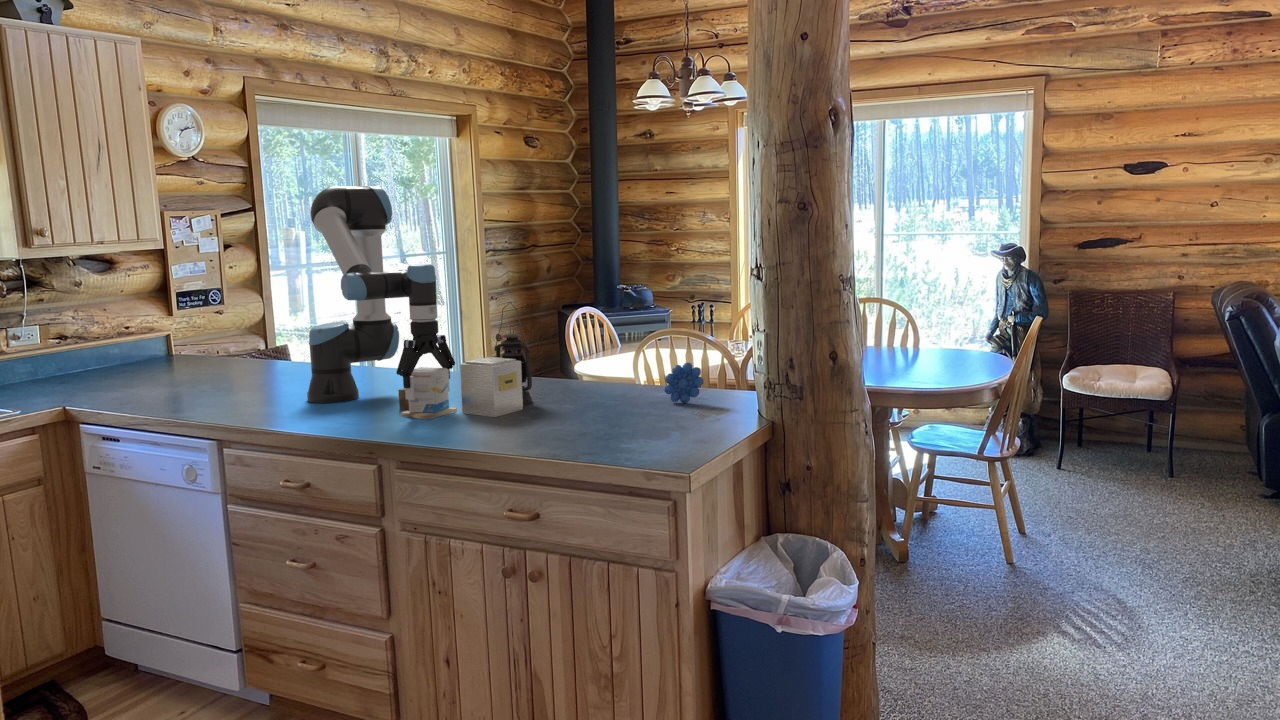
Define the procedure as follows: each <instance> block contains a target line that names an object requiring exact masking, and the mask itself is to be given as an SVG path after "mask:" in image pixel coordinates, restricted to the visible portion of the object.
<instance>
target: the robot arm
mask: <svg viewBox="0 0 1280 720" xmlns="http://www.w3.org/2000/svg"><path fill="white" fill-rule="evenodd" d="M392 207H393V206H392V203H391V199H390V197H389V195H388V194H387V192H386V191H385V190H384V188H383V187H380V186H374V185H373V186H372V185H361V186H360V185H356V186H355V185H352V186H351V185H349V186H345V185H344V186H343V185H341V186H339V185H334V186H328V187H326V188H325V189H323V190H321V191H320V192H319V193H318V194H317V195H316V196H315V198H314V199H313V200H312V203H311V207H310V218H311V219H310V220H311V222H312V224H313V226H314V228H315V229H316V231H317V232H318V233H320V234H321V235H322V236H323V239H324V240H325V242H326V244H327V246H328V247H329V250H330V252H331V253H332V255H333V258H334V260H335V261H336V264H337V266H338V267H339V269H340V272H341V273H342V276H341V279H340V289H341V294H342V296H343V298H344V299H346V300H347V301H356V309H357V310H356V311H357V313H356V314H355V316H354V317H353V318H352V324H351V325H350V324H349V323H348V321H343V320H342V321H333V322H327V323H326V322H325V323H322V324H319V325H316V326H313V327H312V328H311V329H310V330H309V332H308V333H309V335H308V336H309V337H308V339H309V340H308V345H309V352H310V353H309V355H310V356H309V357H310V368H311V369H310V370H311V376H310V377H311V378H310V381H309V385H308V391H307V393H306V394H307V396H306V399H307V401H308V402H309V403H312V404H313V403H315V404H333V403H342V402H348V401H353V400H355V399H356V400H357V399H358V398H359V397H360V395H359V393H360V392H359V389H358V387H357V384H356V381H355V379H354V377H353V373H352V367H351V366H352V364H355V363H365V362H372V361H373V362H375V361H378V362H380V361H382V360H388V359H389V360H390V359H391V358H393V357H394V356H395V355H396V353H397V352H398V348H399V345H400V344H399V343H400V331H399V327H398V324H397V323H395V322H393V321H392V316H391V315H389V313H387V311H386V309H387V307H386V299H397V298H398V299H399V298H408V304H409V319H410V320H411V321H410V324H409V325H410V334H411V336H412V339H404V341H403V350H402V352H401V356H400V359H399V361H398V366H397V369H396V375H398V376H400V377H402V380H403V381H402V383H403V384H402V385H403V388H405V395H406V399H407V400H415V396H414V378H413V376H411V374H412V372H413V370H414V369H416V366H417V364H418V363H419V360H420V358H421V357H422V356H423V355H427V354H431V355H432V356H433V357H434V359H435V360H436V361H437V363H438V364H439V365H440V368H447V378H448V393H450V392H451V391H450V380H451V371H450V370H452V369H453V367H454V366H456V365H455V364H456V361H455V359H454V356H453V355H452V352H451V350H450V348H449V345H448V342H447V338H446V335H445V334H438V333H439V321H438V320H436V319H438V317H439V316H438V301H437V299H438V298H437V275H436V270H435V266H434V264H431V263H430V264H428V263H427V264H426V263H424V264H423V263H422V264H421V263H420V264H419V263H418V264H417V263H416V264H409V265H407V268H406V269H399V270H394V271H389V270H388V271H384V260H383V259H384V258H383V257H384V256H383V246H382V245H383V242H382V235H383V234H384V233H385V232H386V230H387V227H386V226H387V225H389V224H390V223H391V221H392V217H393V209H392Z"/></svg>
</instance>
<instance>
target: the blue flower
mask: <svg viewBox="0 0 1280 720" xmlns="http://www.w3.org/2000/svg"><path fill="white" fill-rule="evenodd" d="M671 369H672V371H671V373H668V374H667V375H666V376H665V380H664V381H665V383H666V385H665V387H664V393H665V394H666V395H670V397H669V398H670V401H672V402H673V403H677V402H678V401H680V402H681V403H682V404H687V403H689V402H690V400H691V398H697V397H698V396H699V395H700V389H699V388H701V387H703V385H704V378H703V377H702V376H700V375H701V373H702V369H701V368H700V367H697V366H696V367H693V364H692V363H691V362H685V363H684V364H683V365H682V366H681V365H679V364H676V365H674V366H673V367H672V368H671Z"/></svg>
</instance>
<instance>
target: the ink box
mask: <svg viewBox="0 0 1280 720" xmlns="http://www.w3.org/2000/svg"><path fill="white" fill-rule="evenodd" d="M411 376H413V378H414V396H415V400H409V412H414V413H438V412H440V411H442V410H445V409H447V408H449V407H450V400H449V398H450V397H449V392H448V378H447V368H442V367H424V366H422V367H417V368H414V370H413V372H412V374H411Z"/></svg>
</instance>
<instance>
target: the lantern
mask: <svg viewBox="0 0 1280 720" xmlns="http://www.w3.org/2000/svg"><path fill="white" fill-rule="evenodd" d="M509 305H511V306H512V308H514V309H515V310H516V314H517V318H518V322H519V326H520V329H521V332H522V334H523V337H524V340H520V339H518V338H521V337H522V335H521V334H518V333H515V329H514V327H515V326H514V325H510V326H509V333H507V334H505V335H502V338H506V340H502V341H500V343H499V344H498V341H499V336H500V331H501V329H502V326H503V318H504V317H503V315H504V309H505V308H507V307H508V306H509ZM518 312H519V311H518V309H517V307H516V306H515V305H513V303H512V301H509V302H508V303H507V304H506V305H504V307H502V309H501V320H500V327H499V330H498V333H497V338H496V341H495V346H494V351H495V357H497V358H509V359H516V361H521V372H522V397H523V406H527V405H530V404H532V403H533V398H532V396H531V394H530V391H529V390H531V389H532V386H533V380H532V379H533V378H532V377H533V376H532V367H531V356H530V353H531V352H532V348H531V347H530V346H529V345H528V342H527V339H526V336H525V332H524V330H523V328H522V324H521V320H520V316H519V313H518ZM511 327H512V328H511ZM524 342H525V344H524ZM501 349H502V350H503V353H502V354H501ZM522 350H524V351H525V356H524V353H523V352H522ZM501 355H502V356H501ZM524 383H526V384H527V385H526V387H525V386H524V385H523V384H524Z"/></svg>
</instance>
